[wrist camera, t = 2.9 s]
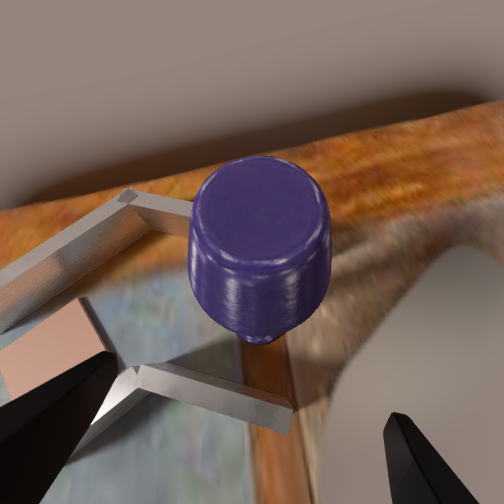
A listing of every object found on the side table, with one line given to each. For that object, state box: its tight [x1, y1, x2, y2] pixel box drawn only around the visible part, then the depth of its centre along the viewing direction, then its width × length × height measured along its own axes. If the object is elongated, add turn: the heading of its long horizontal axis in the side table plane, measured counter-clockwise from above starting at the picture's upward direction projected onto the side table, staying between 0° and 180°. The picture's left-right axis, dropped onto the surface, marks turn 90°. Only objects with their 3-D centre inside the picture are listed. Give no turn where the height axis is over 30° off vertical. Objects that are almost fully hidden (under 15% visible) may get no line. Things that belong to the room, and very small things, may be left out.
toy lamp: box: [188, 156, 332, 345], centre depth 13 cm, size 5×5×17 cm
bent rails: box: [0, 187, 293, 460], centre depth 20 cm, size 18×27×4 cm, turn 102°
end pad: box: [0, 298, 120, 400], centre depth 20 cm, size 7×7×1 cm
